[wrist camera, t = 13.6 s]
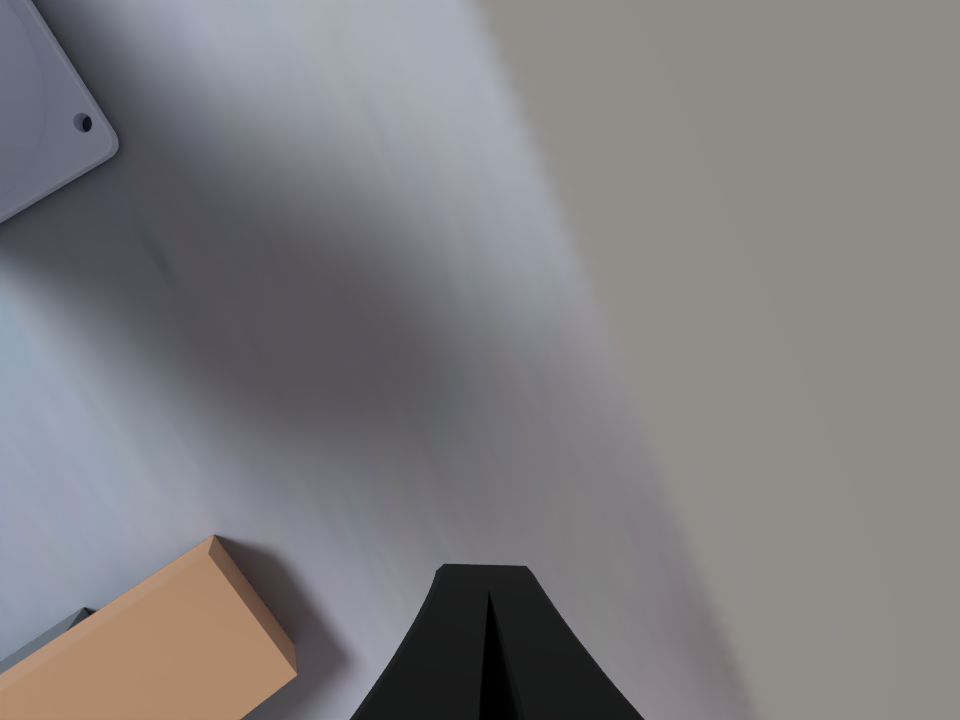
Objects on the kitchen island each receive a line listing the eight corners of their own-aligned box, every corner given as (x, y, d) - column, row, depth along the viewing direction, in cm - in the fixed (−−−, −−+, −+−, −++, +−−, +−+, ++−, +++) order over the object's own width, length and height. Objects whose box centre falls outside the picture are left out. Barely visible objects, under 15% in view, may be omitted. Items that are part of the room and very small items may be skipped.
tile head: (213, 534, 19) (-3, 676, 17) (208, 553, 17) (-36, 715, 15) (294, 645, 20) (99, 792, 18) (297, 675, 18) (79, 842, 16)
